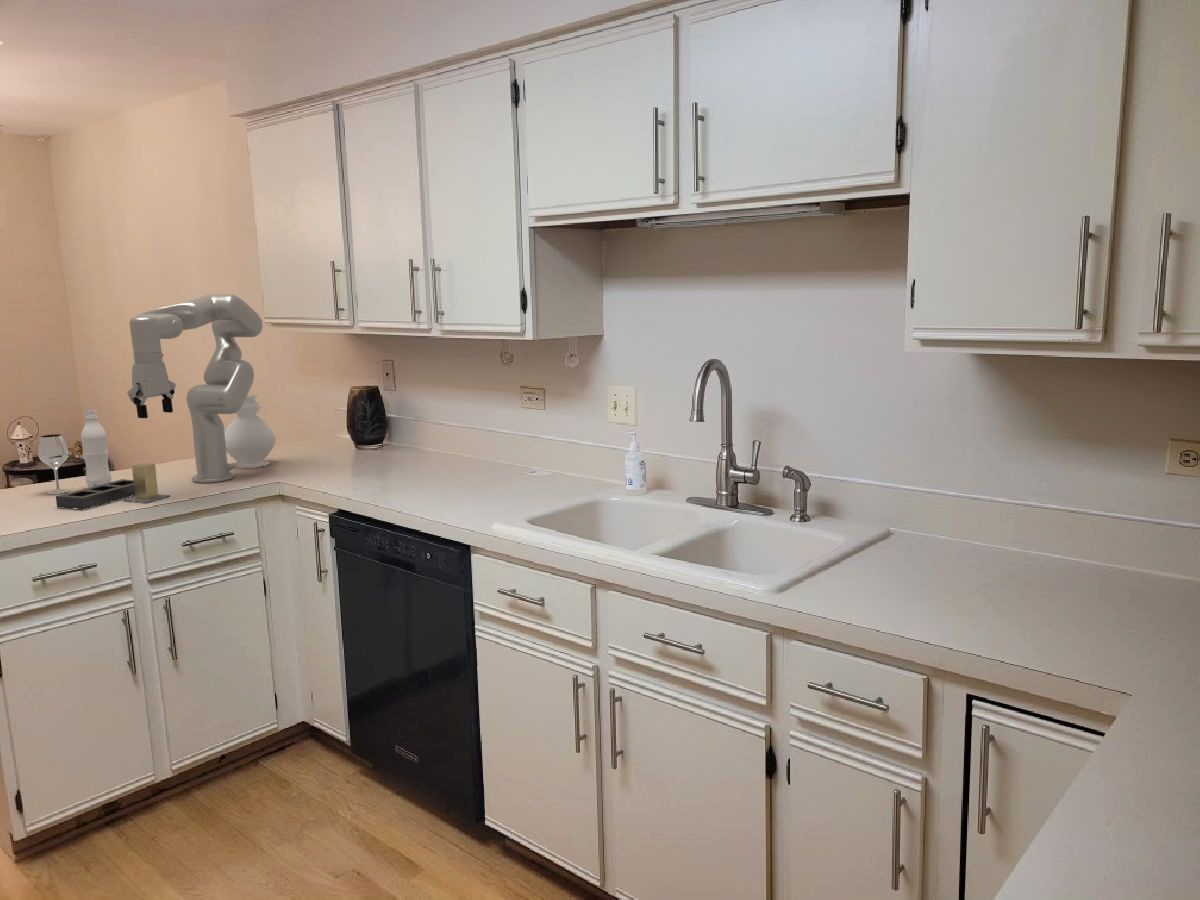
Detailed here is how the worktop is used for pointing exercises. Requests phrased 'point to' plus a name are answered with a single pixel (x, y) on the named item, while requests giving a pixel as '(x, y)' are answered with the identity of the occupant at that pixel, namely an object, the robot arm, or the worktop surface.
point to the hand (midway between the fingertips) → (155, 415)
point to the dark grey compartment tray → (96, 495)
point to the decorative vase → (249, 436)
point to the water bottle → (95, 451)
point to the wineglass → (53, 455)
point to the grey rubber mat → (147, 499)
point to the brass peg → (145, 481)
